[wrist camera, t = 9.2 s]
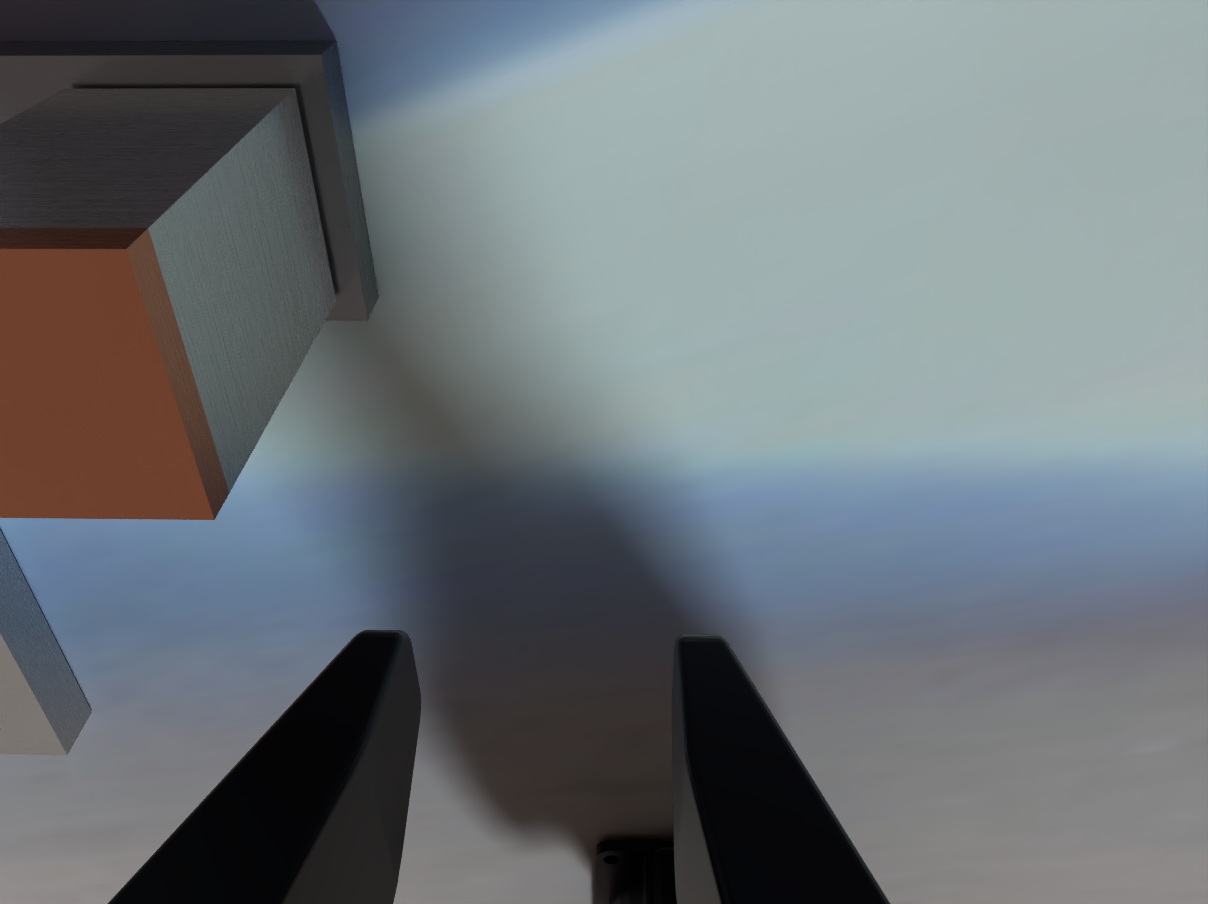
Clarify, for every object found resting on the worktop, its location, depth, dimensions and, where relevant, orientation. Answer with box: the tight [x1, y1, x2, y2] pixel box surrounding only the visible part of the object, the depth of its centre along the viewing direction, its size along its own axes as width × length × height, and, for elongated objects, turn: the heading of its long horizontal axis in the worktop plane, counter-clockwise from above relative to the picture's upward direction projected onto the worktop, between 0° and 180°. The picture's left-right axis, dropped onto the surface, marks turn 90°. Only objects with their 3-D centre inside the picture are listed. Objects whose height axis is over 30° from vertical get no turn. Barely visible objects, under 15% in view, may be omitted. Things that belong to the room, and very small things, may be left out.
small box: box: [0, 88, 336, 520], centre depth 15 cm, size 4×4×7 cm
